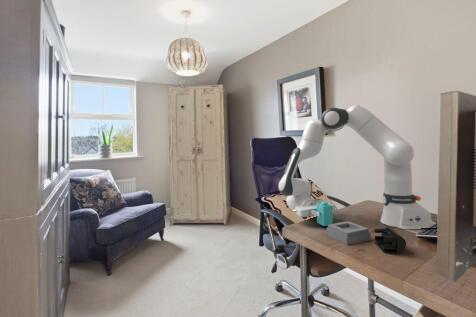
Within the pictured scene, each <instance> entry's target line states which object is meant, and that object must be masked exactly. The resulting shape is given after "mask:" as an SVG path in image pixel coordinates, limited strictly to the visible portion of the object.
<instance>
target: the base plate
mask: <svg viewBox="0 0 476 317" xmlns="http://www.w3.org/2000/svg"><path fill="white" fill-rule="evenodd" d="M325 229H326V231H325V233H326V234H325V235H326V236H328V237H329V238H332V239H334V240H336V241H338V242H340V243H343V244H344V245H346V246H349V245H353V244H359V243H363V242H367V241H371V239H372V238H371V237H372V236H371V235H372V234H371V232H370V230H369V228H368V227H365V226H362V225H359V224H357V223H354V222H352V221H349V220H346V221H342V222H335V223H333V224H329V225H327V227H326V228H325Z"/></svg>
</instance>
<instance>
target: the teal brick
mask: <svg viewBox="0 0 476 317" xmlns="http://www.w3.org/2000/svg"><path fill="white" fill-rule="evenodd" d="M327 202H328V201H327ZM327 202H321V204H317V212H321V216H316V223H317V224H319V225H321V226H323V227H326V226H327V227H328V225H329V224H334V223H333V222H334V220H333V217H334V216H333V213H334V212H332V205H330V204H328V203H327Z"/></svg>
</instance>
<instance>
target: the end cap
mask: <svg viewBox="0 0 476 317" xmlns="http://www.w3.org/2000/svg"><path fill="white" fill-rule="evenodd" d="M374 233H375V234H380V235H374V241H375V243H374V244H375V245H376V246H377V247H378V248H379V249H380V251H382V252H383V254H390V255H391V254H393V255H395V254H399V253H401V252H403V251H404V250H406V247H407V241H406V238H404V237H403V236H402V235H400V234H399V233H398V232H396V231H395V230H394V229H393V228H391V226H385V228H374Z"/></svg>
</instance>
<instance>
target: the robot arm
mask: <svg viewBox="0 0 476 317" xmlns="http://www.w3.org/2000/svg"><path fill="white" fill-rule="evenodd" d="M345 126H348V127H349V128H351V129H352V130H353V131H354V132H355V133H357V135H359V136H360V137H361V138H363V140H364V141H366V143H368V144H369V145H370V146H371V147H372V149H374V150H376V152H377V153H379V154H380V155H381V156H382V157H383V167H384V168H383V174H384V175H383V177H384V178H383V179H384V180H383V181H384V183H383V184H384V186H383V187H384V191H383V193H382V194H383V195H382V203H383V208H382V209H383V210H382V212H381V214H382V215H381V218H380V222H381V223H382V224H384V225H386V226H388V227H394V228H399V229H402V230H407V231H408V230H409V231H410V230H422V229H421V228H427V227H429V226H431V225H433V224H437V222H435V221H433V220H432V215H431V213H430V211H429V210H427V208H424V206H423V205H421V204H419V203H418V202H420V201H421V200H422V197H421V196H419V195H415V194H413V176H412V174H413V173H412V163H411V162H412V160H413V159H414V156H415V149H414V148H413V146H412V145H411V144H410V143H409V142H408V141H407V140H405V139H404V138H403V137H401V136H400V135H399V134H398V133H397V132H395V131H394V130H393V129H391V127H389V126H388V125H387V124H385V122H383V121H382V120H381V119H379V117H377V116H376V115H375V114H373V113H372V112H371V111H370V110H369V109H367V108H365V107H363V106H361V105H360V104H353V105H351V106H350V107H348V109H343V108H339V107H330V108H327V109H325V110H324V111H323V113H322V114H321V116H320V119H315V118H314V119H310V120H308V121H307V123H306V124H305V127H304V129H303V132H302V136H301V140H300V142H299V144H298V145H297V147H296V148H294V149H293V150H292V152H291V154H290V156H289V158H288V161H287V164H286V166H285V169H284V172H283V174H282V176H281V178H280V179H279V182H278V186H277V187H278V188H277V189H278V191H279V192H280V194H281V195H282V196H284V197H286V204H287V206H288V208H289V209H292V212H294V213H295V214H296V215H297V216H298V217H300V218H306V217H312V216H315V217H317V216H321V212H317V204H321V202H327V203H328V204H330V205H332V212H333V213H335V212H336V205H335V204H334V203H332V202H329V201H326V200H324V199H323V198H311V197H312V194H313V184H312V182H311V181H310V180H309V179H307V178H301V177H300V178H297V177H294V176H295V174H296V171H297V169H298V166H299V164H300V163H301V162H303V161H304V160H307V159H310V158H314V157H317V155H319V154H320V153H321V150H322V148H323V143H324V139H325V136H326V134H327V133H328V132H329V133H330V132H336V131H337V132H338V131H340V130H341V129H343V128H344V127H345Z"/></svg>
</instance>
